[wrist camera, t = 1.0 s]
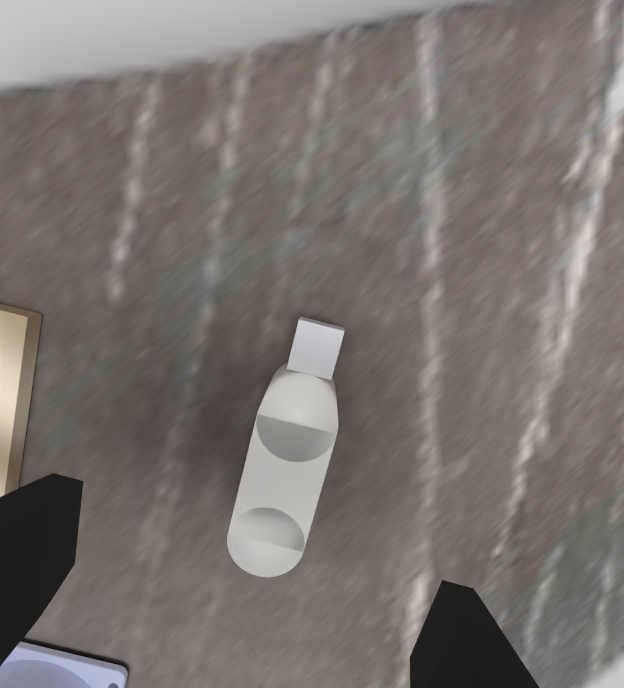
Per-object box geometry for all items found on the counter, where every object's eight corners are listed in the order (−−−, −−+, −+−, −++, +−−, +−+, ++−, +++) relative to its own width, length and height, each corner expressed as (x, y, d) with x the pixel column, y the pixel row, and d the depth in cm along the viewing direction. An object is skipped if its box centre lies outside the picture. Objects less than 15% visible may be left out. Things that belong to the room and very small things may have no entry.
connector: (299, 525, 22) (294, 584, 18) (238, 509, 22) (219, 566, 18) (355, 325, 20) (362, 342, 16) (288, 308, 20) (279, 321, 16)
